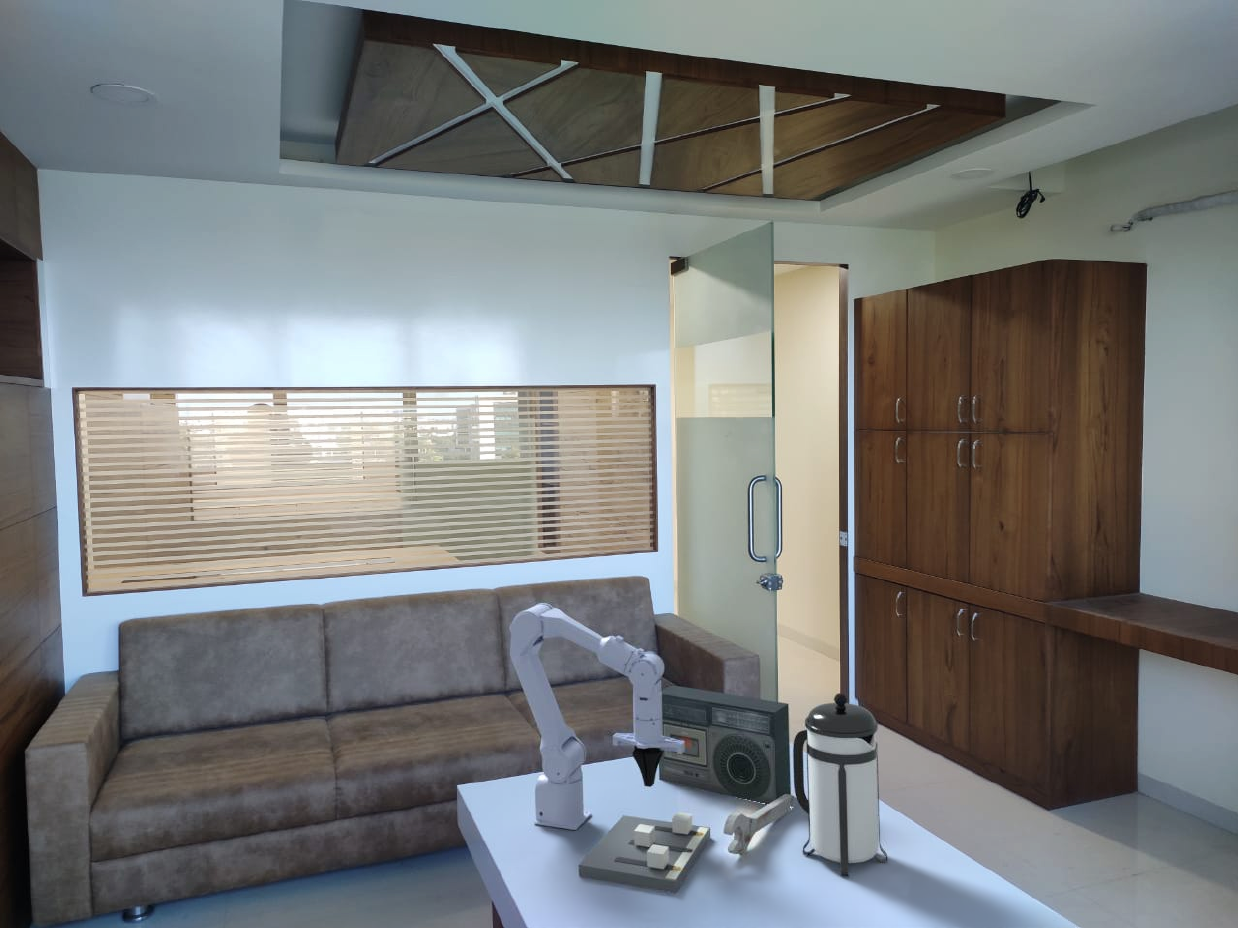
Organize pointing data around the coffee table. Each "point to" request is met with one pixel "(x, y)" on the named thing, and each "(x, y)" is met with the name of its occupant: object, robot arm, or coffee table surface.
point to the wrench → (754, 822)
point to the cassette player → (727, 744)
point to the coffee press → (840, 782)
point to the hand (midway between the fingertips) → (649, 784)
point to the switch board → (644, 855)
